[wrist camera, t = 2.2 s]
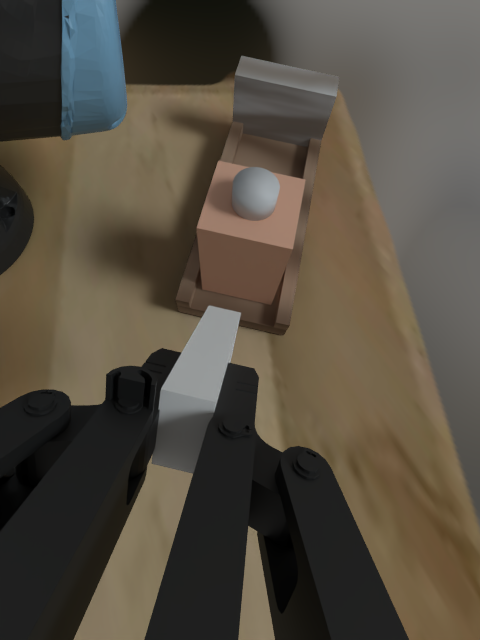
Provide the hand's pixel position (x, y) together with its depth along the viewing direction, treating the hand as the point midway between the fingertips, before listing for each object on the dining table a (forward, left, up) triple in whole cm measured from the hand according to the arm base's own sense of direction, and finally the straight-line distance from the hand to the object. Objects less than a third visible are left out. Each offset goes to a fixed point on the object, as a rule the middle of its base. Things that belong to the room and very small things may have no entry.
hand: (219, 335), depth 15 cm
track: (-9, +16, -14) cm, 23 cm away
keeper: (-6, +9, -12) cm, 16 cm away
